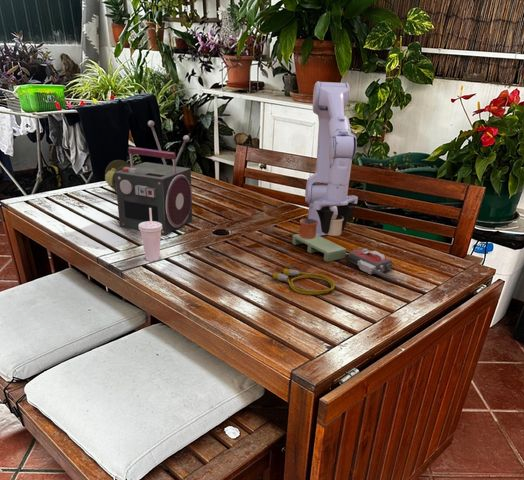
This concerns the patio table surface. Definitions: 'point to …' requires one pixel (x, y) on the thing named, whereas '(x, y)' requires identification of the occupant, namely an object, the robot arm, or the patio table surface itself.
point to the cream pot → (335, 225)
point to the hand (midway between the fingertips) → (332, 231)
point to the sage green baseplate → (321, 247)
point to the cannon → (113, 168)
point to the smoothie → (151, 238)
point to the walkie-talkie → (370, 262)
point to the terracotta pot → (308, 228)
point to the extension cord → (295, 272)
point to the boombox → (154, 190)
